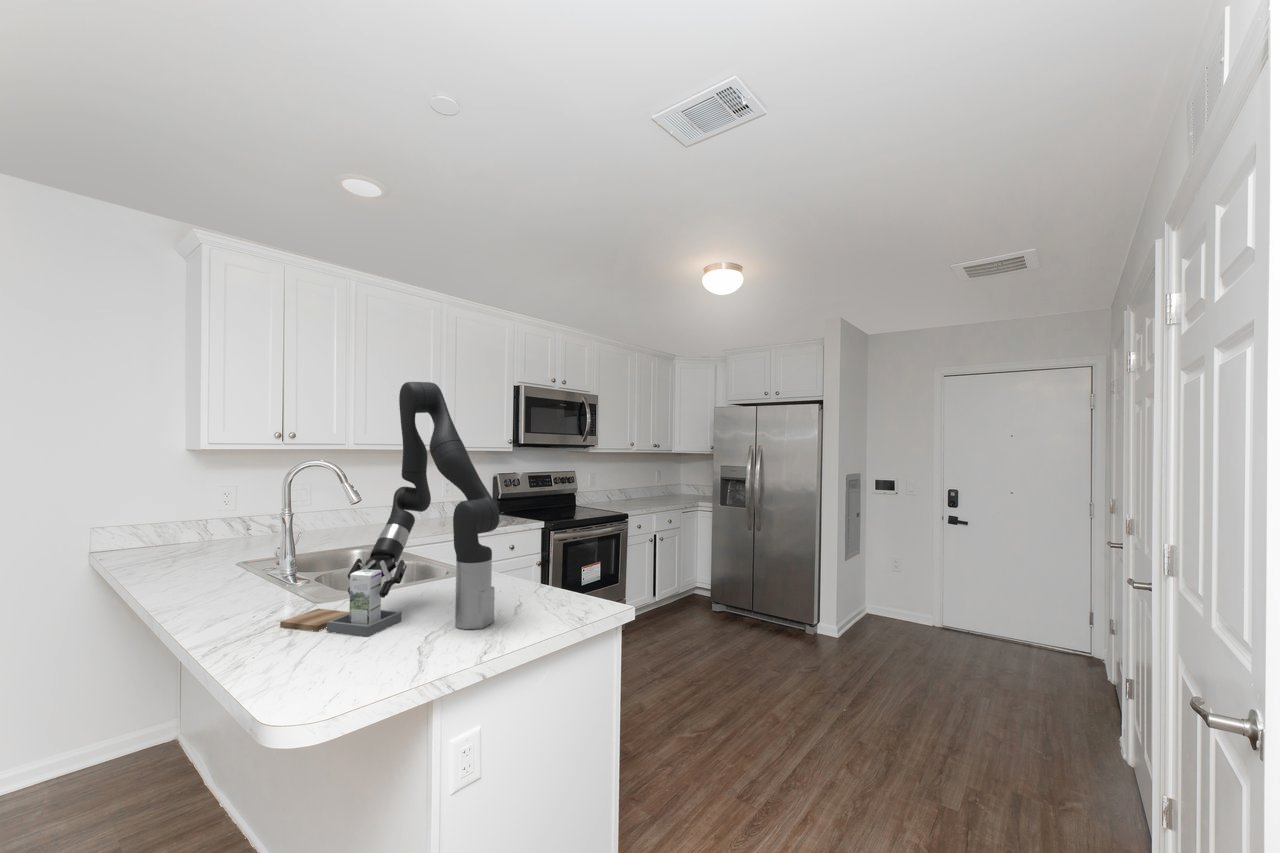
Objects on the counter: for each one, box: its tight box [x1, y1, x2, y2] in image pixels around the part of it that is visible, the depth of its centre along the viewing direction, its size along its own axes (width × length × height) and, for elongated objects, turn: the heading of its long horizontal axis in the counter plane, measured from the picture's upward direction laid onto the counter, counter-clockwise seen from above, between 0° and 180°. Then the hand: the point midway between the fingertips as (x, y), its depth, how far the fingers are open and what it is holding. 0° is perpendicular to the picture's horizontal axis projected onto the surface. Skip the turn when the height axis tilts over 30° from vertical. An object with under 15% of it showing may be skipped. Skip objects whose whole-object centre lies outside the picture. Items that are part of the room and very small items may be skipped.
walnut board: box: [279, 608, 350, 632], centre depth 151 cm, size 12×12×2 cm
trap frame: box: [325, 609, 403, 638], centre depth 148 cm, size 13×13×2 cm
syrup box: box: [349, 570, 383, 625], centre depth 148 cm, size 6×6×14 cm
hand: (366, 595), depth 148 cm, fingers open, 8 cm apart
